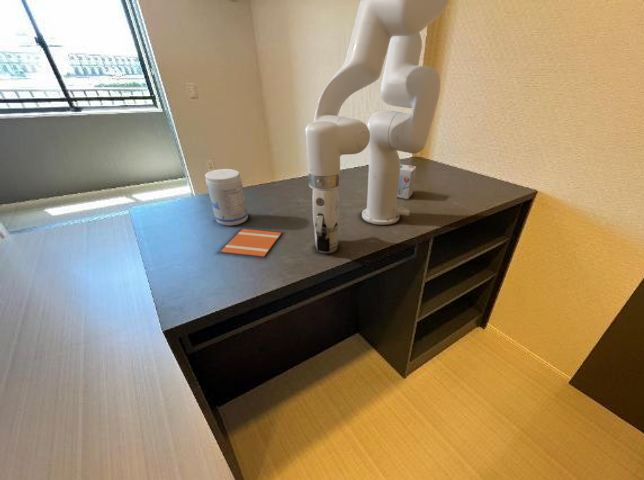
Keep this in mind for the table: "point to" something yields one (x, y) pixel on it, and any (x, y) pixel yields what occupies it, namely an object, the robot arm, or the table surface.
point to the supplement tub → (227, 196)
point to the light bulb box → (406, 181)
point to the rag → (251, 242)
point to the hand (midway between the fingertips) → (326, 243)
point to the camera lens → (332, 236)
